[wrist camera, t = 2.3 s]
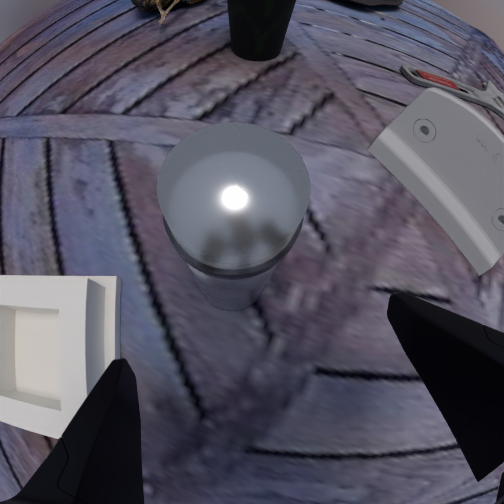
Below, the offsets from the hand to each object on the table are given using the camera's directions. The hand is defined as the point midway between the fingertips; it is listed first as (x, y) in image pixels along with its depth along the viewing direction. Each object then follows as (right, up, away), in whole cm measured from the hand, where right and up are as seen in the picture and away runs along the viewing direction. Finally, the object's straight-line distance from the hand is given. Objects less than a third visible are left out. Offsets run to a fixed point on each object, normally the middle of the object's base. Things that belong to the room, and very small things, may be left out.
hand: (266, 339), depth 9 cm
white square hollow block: (-15, -5, +9) cm, 19 cm away
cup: (0, +26, +20) cm, 33 cm away
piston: (-2, +1, +12) cm, 12 cm away
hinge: (+18, +8, +16) cm, 26 cm away
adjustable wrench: (+32, +25, +23) cm, 46 cm away
